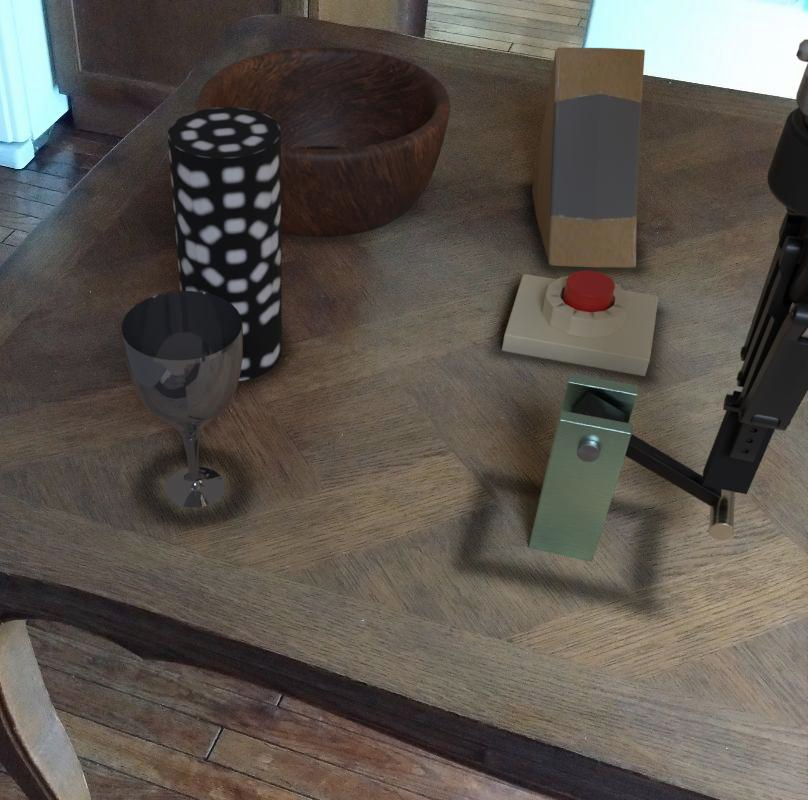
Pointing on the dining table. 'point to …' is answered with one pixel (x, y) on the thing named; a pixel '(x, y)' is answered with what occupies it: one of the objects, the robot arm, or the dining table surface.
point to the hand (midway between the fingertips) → (724, 482)
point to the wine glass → (185, 374)
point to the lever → (669, 469)
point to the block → (581, 327)
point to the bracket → (582, 470)
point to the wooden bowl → (341, 132)
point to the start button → (589, 291)
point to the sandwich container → (590, 158)
